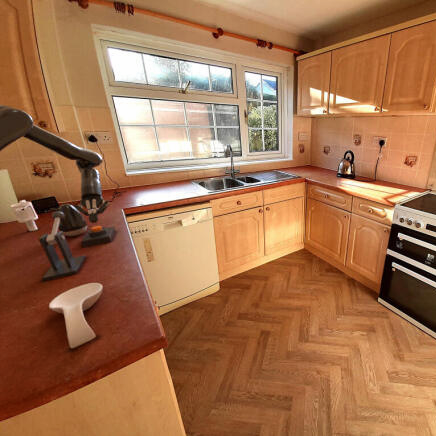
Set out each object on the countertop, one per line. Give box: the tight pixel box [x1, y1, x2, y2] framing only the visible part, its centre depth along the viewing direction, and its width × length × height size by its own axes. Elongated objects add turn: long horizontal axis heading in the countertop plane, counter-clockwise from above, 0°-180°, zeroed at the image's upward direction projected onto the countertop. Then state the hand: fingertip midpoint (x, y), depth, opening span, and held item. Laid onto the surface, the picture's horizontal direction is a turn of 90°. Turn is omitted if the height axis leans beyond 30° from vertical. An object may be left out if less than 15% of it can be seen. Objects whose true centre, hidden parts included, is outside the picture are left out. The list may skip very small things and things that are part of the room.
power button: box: [90, 225, 102, 232], centre depth 109 cm, size 4×4×2 cm
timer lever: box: [46, 211, 64, 246], centre depth 88 cm, size 15×3×3 cm, turn 28°
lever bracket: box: [38, 230, 87, 282], centre depth 86 cm, size 12×9×14 cm
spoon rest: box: [48, 282, 103, 349], centre depth 65 cm, size 24×12×7 cm, turn 42°
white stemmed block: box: [10, 199, 39, 232], centre depth 121 cm, size 7×7×15 cm
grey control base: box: [80, 226, 116, 248], centre depth 110 cm, size 12×10×4 cm
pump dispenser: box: [49, 203, 88, 237], centre depth 114 cm, size 10×10×15 cm
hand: (93, 222), depth 108 cm, fingers closed
